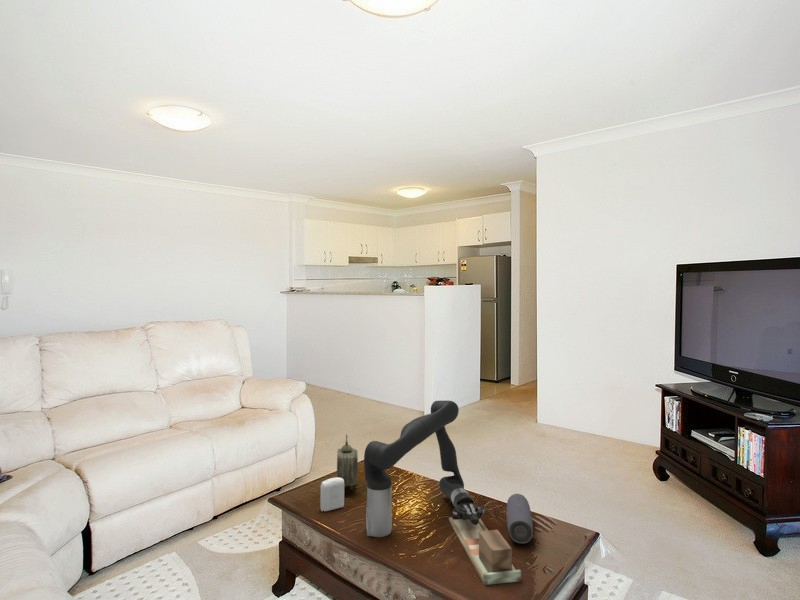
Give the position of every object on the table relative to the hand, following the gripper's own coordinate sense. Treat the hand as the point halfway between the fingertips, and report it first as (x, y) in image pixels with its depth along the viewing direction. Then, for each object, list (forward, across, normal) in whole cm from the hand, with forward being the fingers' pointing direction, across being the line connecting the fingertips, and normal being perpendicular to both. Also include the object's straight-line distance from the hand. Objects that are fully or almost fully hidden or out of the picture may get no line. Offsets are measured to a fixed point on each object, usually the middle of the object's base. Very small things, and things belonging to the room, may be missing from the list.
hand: (475, 522), depth 167 cm
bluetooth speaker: (-4, +18, +7) cm, 20 cm away
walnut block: (+17, +1, +6) cm, 18 cm away
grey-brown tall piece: (-50, -44, +7) cm, 67 cm away
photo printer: (-33, -51, +7) cm, 61 cm away
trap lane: (+4, 0, +6) cm, 8 cm away
